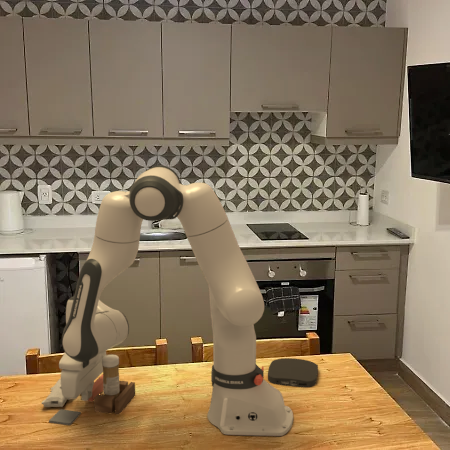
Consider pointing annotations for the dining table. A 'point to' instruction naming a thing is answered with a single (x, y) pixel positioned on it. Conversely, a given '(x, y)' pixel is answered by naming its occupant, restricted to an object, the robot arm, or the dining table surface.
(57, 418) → the pad
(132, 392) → the brown u-shaped channel
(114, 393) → the sprinkles bottle
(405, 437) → the dining table surface
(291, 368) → the media streaming box
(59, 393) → the gun
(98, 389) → the salmon red bar
